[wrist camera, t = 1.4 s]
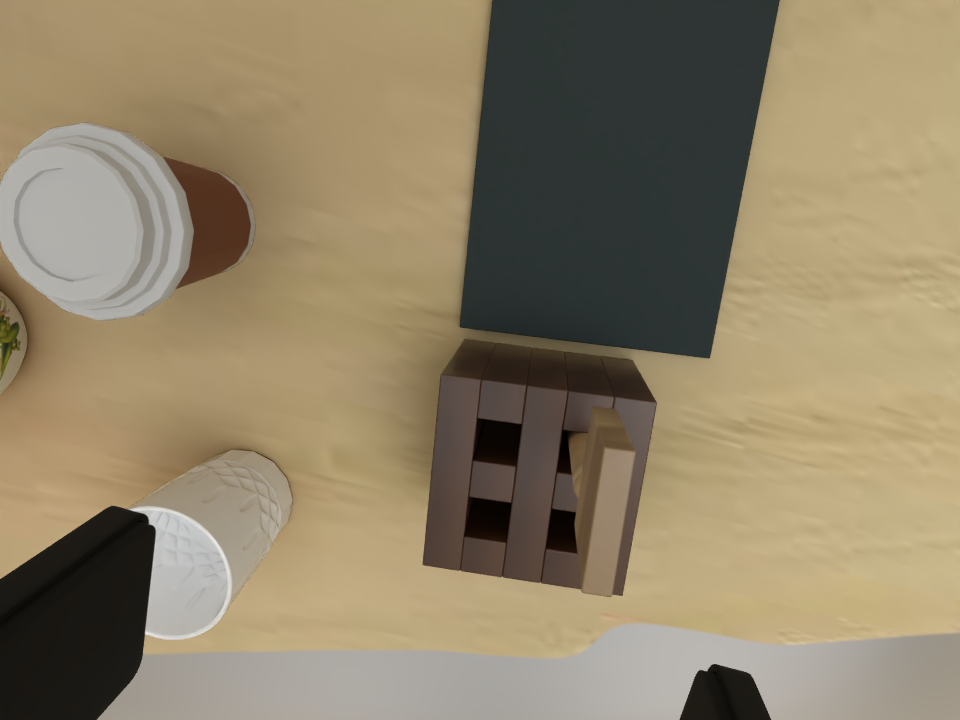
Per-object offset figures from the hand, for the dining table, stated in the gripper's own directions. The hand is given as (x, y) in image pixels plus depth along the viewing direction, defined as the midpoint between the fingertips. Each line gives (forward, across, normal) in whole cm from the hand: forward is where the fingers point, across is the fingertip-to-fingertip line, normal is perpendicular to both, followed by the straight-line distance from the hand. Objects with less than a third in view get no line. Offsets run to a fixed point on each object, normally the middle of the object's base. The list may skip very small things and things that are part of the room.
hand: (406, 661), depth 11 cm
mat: (+30, -3, -12) cm, 33 cm away
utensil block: (+30, -3, +6) cm, 31 cm away
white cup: (+30, +15, +15) cm, 37 cm away
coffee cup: (+30, +20, -2) cm, 36 cm away
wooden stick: (+30, -5, +3) cm, 30 cm away
